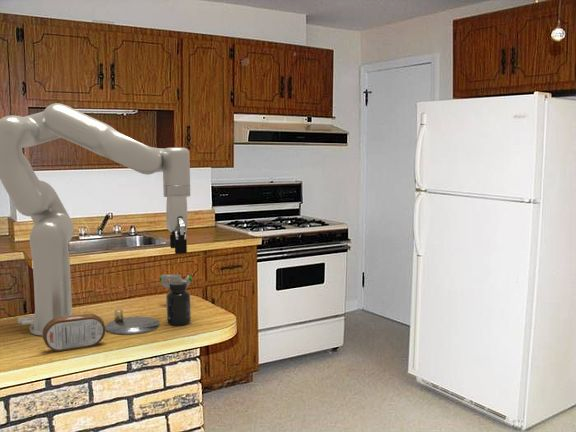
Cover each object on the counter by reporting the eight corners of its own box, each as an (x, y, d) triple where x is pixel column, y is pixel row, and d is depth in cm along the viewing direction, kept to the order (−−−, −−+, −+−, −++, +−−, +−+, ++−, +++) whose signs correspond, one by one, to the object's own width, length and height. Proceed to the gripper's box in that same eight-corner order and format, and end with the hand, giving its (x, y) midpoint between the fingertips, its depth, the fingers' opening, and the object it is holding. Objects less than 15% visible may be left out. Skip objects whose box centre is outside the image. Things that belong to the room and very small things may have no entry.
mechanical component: (191, 307, 186) (190, 276, 185) (159, 306, 186) (158, 276, 185) (192, 304, 189) (192, 274, 188) (161, 304, 189) (161, 274, 188)
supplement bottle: (182, 318, 174) (182, 279, 173) (195, 323, 169) (194, 283, 168) (162, 322, 169) (161, 282, 168) (174, 328, 164) (174, 286, 163)
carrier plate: (106, 337, 156) (105, 324, 156) (104, 321, 170) (104, 309, 170) (162, 331, 161) (162, 319, 161) (156, 316, 175) (156, 305, 175)
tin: (104, 341, 153) (103, 310, 152) (107, 345, 150) (106, 313, 149) (43, 350, 146) (41, 318, 145) (44, 354, 143) (42, 321, 142)
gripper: (159, 189, 171) (161, 246, 174) (167, 194, 155) (169, 256, 157) (185, 188, 174) (186, 245, 176) (195, 193, 158) (196, 255, 160)
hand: (178, 250), depth 167 cm, fingers open, 9 cm apart
